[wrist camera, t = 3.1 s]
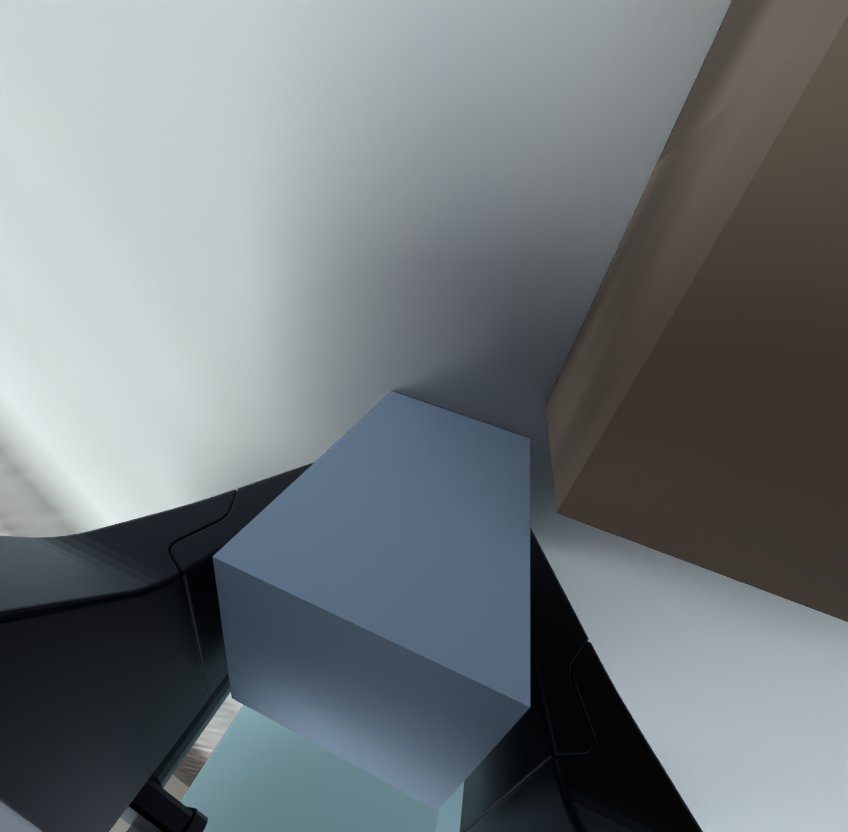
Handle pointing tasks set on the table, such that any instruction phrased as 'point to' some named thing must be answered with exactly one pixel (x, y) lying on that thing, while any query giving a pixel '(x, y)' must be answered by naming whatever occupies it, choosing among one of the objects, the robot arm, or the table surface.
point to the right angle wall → (302, 788)
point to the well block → (729, 325)
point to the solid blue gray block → (390, 597)
